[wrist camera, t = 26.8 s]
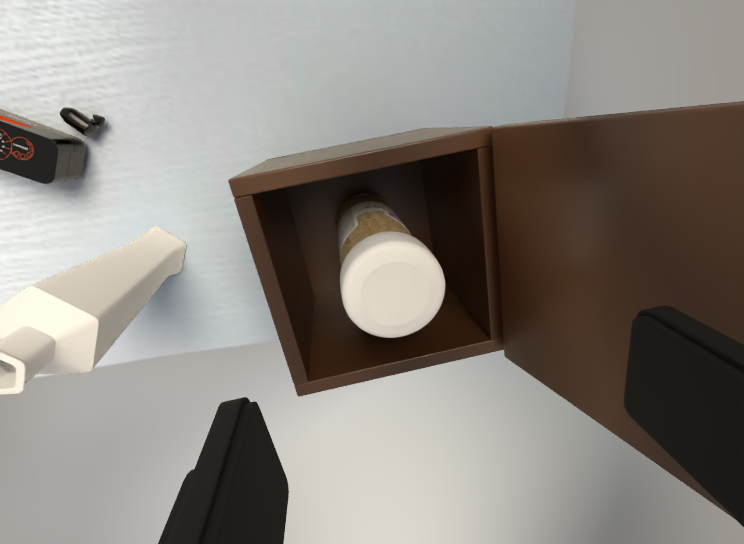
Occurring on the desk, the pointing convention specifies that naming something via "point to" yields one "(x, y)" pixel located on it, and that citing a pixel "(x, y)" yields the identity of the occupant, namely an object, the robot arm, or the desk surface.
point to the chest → (322, 261)
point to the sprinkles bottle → (385, 270)
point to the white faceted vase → (82, 309)
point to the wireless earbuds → (44, 146)
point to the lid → (617, 245)
